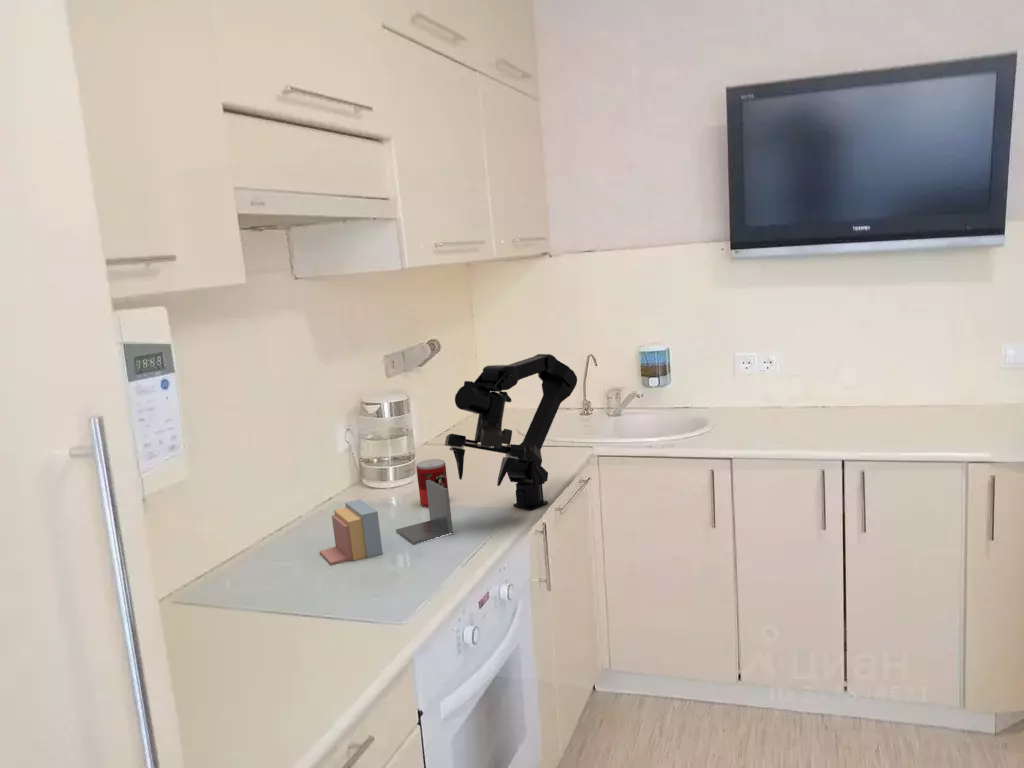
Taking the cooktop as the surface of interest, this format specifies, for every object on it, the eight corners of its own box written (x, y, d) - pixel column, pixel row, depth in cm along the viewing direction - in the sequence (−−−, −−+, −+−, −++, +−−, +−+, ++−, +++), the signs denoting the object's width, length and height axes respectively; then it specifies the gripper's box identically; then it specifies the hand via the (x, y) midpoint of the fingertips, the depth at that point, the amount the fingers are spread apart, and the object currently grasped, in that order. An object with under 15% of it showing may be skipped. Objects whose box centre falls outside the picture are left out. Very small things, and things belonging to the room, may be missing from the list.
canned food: (430, 509, 213) (425, 468, 212) (415, 503, 220) (410, 463, 218) (455, 502, 218) (451, 461, 216) (439, 496, 224) (435, 457, 222)
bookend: (434, 522, 203) (429, 479, 201) (453, 534, 194) (448, 489, 192) (396, 532, 199) (391, 488, 197) (413, 545, 189) (408, 499, 187)
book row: (365, 539, 195) (360, 499, 194) (382, 553, 185) (377, 511, 183) (317, 551, 190) (312, 510, 188) (333, 567, 180) (327, 523, 178)
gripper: (457, 408, 187) (445, 476, 185) (536, 422, 191) (525, 490, 188) (450, 411, 198) (438, 475, 196) (525, 425, 201) (514, 488, 199)
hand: (479, 482), depth 194 cm, fingers open, 9 cm apart
